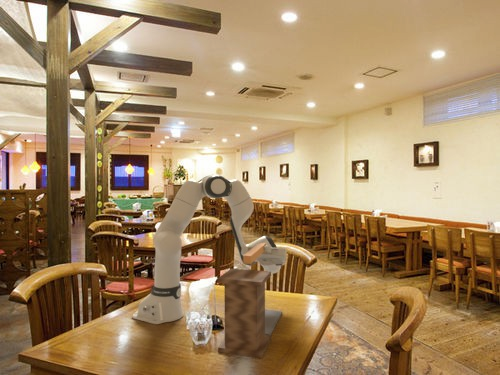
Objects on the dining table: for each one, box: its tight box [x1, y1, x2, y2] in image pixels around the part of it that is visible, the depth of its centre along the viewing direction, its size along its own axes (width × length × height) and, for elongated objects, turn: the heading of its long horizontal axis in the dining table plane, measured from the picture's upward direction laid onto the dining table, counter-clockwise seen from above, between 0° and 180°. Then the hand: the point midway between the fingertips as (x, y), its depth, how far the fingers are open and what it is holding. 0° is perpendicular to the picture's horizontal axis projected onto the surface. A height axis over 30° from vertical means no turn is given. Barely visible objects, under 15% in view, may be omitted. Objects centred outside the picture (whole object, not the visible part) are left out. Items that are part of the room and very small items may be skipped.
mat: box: [265, 308, 283, 337], centre depth 141 cm, size 14×24×1 cm, turn 163°
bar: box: [242, 243, 266, 265], centre depth 133 cm, size 3×22×3 cm, turn 163°
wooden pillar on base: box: [217, 268, 272, 359], centre depth 121 cm, size 16×14×26 cm
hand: (260, 247), depth 140 cm, fingers closed on bar, 3 cm apart
